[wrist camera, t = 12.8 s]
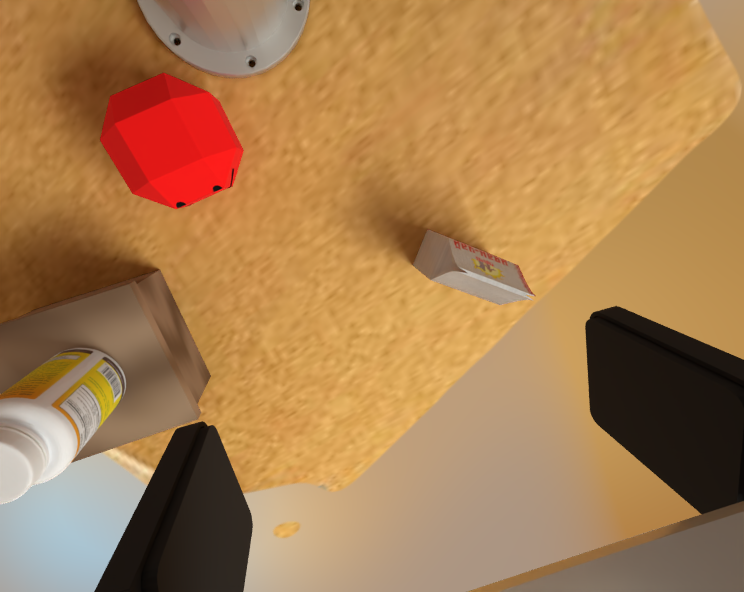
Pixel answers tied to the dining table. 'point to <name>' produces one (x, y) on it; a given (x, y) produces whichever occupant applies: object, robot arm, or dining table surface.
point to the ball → (171, 141)
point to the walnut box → (117, 354)
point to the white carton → (470, 270)
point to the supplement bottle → (54, 416)
